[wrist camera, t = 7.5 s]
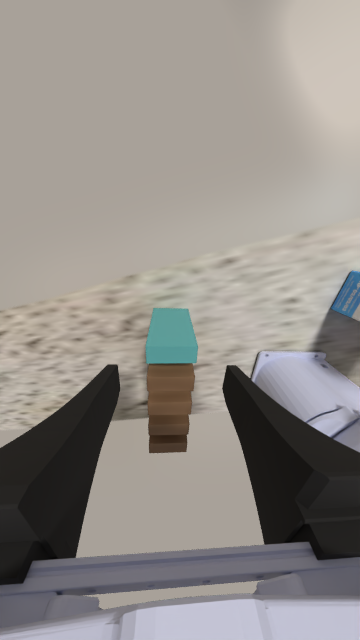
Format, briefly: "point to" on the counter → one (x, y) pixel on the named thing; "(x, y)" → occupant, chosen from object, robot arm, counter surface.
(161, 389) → the domino
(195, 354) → the domino
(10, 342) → the counter surface
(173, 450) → the domino
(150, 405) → the domino
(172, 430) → the domino
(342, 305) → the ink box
